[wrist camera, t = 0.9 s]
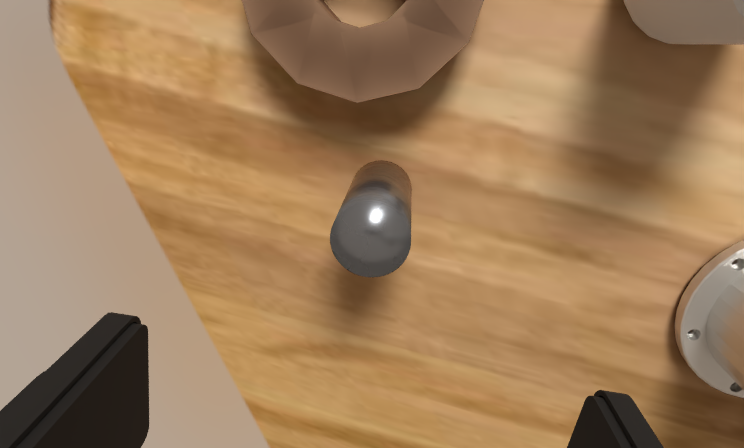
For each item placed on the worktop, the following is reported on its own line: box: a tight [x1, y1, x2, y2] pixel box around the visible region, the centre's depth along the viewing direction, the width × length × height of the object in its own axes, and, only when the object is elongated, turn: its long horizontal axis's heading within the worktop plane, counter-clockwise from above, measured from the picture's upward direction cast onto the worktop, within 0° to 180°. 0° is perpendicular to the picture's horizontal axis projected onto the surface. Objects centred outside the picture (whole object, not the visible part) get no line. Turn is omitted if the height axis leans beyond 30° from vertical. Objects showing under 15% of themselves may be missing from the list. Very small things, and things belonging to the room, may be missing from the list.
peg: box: [330, 161, 412, 277], centre depth 29 cm, size 4×4×9 cm
